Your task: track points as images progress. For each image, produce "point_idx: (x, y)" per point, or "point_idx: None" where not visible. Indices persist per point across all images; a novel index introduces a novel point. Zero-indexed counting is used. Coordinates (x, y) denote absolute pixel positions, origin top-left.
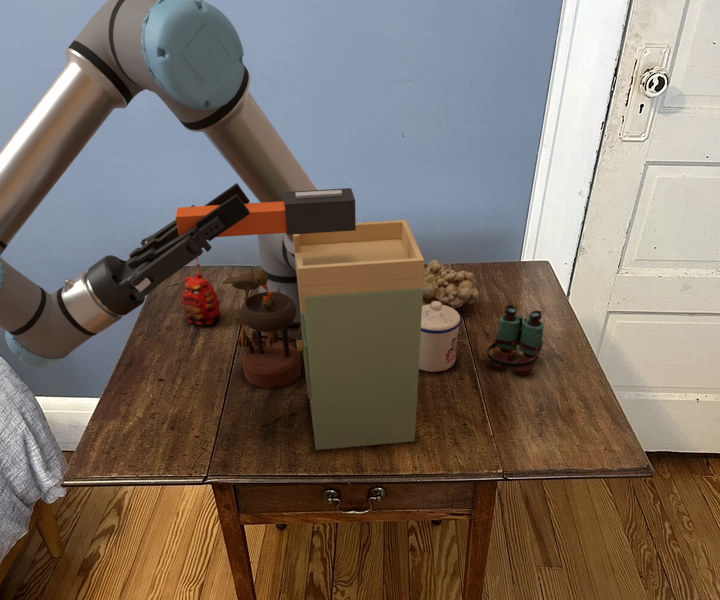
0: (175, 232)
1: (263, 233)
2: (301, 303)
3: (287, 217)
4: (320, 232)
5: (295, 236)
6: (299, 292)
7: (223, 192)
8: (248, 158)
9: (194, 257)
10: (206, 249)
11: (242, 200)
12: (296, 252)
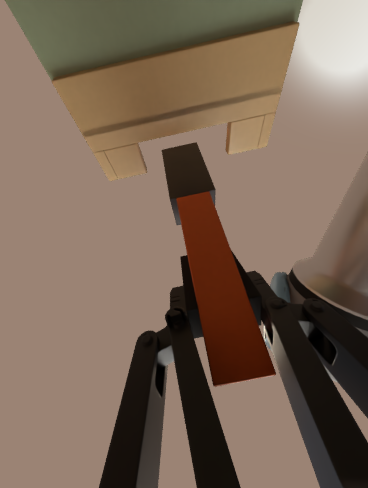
0: (290, 399)
1: (181, 223)
2: (70, 113)
3: (174, 214)
4: (165, 172)
5: (227, 152)
6: (87, 139)
7: None
8: (354, 226)
9: (133, 356)
10: (166, 320)
11: None
12: (230, 121)
